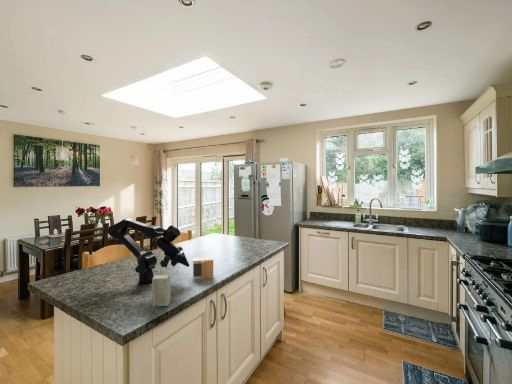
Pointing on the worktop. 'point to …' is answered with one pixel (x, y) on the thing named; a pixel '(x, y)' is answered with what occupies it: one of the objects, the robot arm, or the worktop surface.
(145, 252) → the robot arm
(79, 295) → the worktop surface
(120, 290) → the worktop surface
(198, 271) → the block
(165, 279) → the skincare box
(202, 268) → the orange l-shaped block
